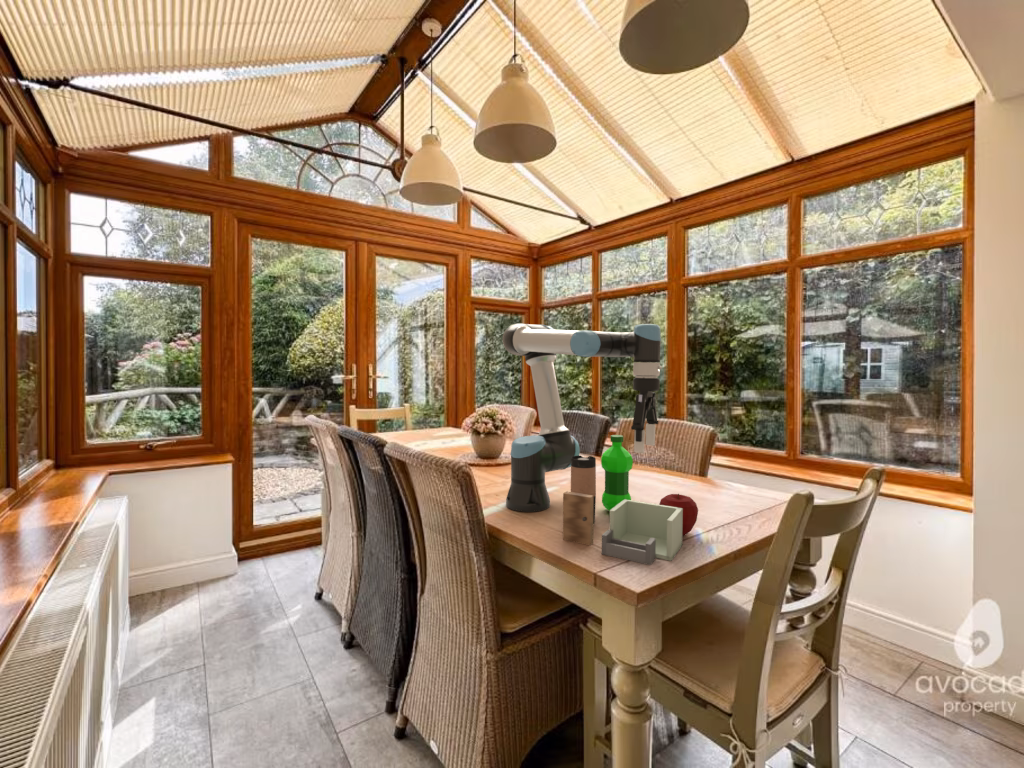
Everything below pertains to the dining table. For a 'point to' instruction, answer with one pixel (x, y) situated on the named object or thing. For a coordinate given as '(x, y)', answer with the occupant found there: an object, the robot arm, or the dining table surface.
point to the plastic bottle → (616, 473)
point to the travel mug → (584, 477)
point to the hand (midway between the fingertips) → (644, 448)
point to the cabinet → (643, 532)
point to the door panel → (578, 517)
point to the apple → (688, 509)
